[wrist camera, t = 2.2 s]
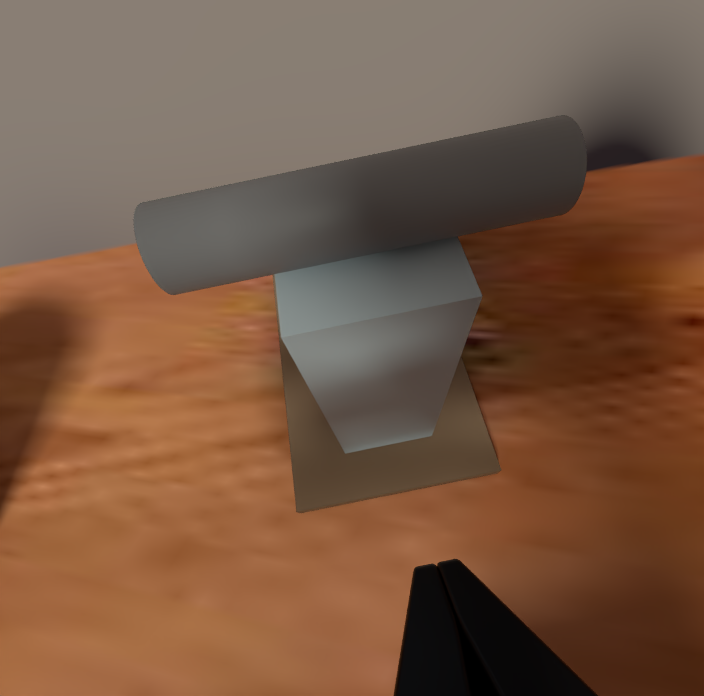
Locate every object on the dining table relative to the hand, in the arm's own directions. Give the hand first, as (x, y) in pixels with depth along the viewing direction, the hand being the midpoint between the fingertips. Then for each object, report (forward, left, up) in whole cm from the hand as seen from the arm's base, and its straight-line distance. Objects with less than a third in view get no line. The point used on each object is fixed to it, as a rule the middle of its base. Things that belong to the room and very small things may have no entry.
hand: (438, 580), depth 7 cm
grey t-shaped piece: (+3, +6, -10) cm, 12 cm away
